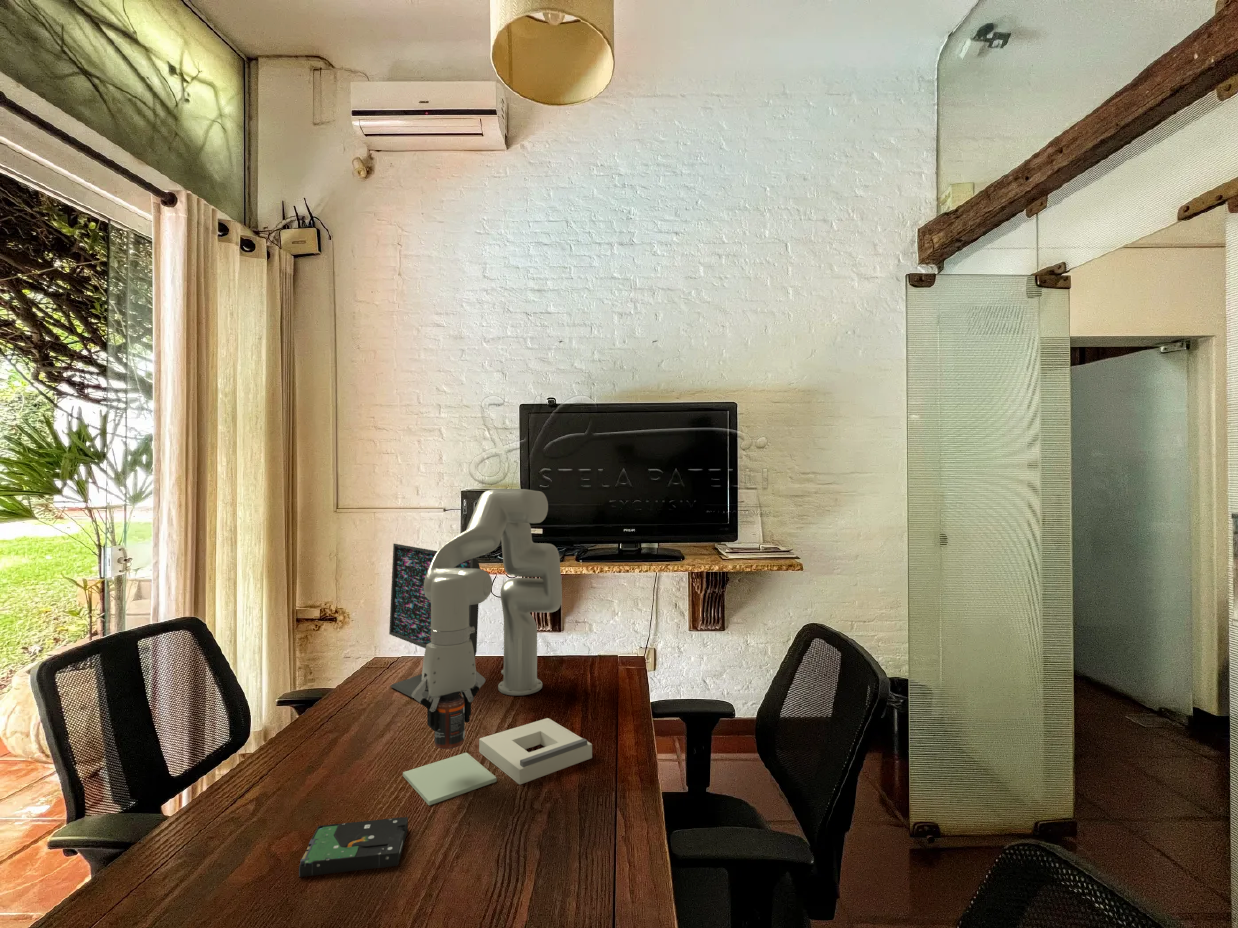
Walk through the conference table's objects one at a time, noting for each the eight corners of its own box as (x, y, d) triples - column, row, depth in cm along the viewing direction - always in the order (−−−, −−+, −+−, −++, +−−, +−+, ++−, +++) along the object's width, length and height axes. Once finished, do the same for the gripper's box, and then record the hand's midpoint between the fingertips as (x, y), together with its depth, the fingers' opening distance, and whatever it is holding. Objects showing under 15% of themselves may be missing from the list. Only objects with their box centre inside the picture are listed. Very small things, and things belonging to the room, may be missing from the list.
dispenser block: (479, 751, 135) (479, 733, 135) (547, 730, 146) (547, 713, 146) (519, 784, 121) (519, 764, 121) (592, 757, 132) (592, 739, 132)
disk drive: (408, 831, 106) (316, 840, 103) (408, 815, 106) (317, 824, 103) (398, 869, 96) (297, 880, 93) (399, 851, 96) (298, 862, 93)
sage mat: (402, 776, 124) (402, 772, 124) (466, 755, 133) (466, 752, 133) (429, 805, 113) (429, 801, 113) (496, 781, 122) (496, 777, 122)
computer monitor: (369, 677, 183) (370, 545, 184) (419, 664, 195) (419, 540, 196) (447, 717, 154) (447, 560, 154) (499, 700, 166) (500, 553, 166)
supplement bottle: (470, 739, 125) (470, 684, 125) (453, 752, 120) (453, 694, 120) (445, 735, 127) (446, 681, 127) (428, 747, 121) (428, 691, 122)
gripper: (480, 625, 132) (480, 708, 132) (401, 639, 121) (400, 729, 121) (496, 632, 126) (496, 719, 126) (414, 647, 115) (414, 742, 115)
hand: (449, 723), depth 123 cm, fingers closed on supplement bottle, 6 cm apart
